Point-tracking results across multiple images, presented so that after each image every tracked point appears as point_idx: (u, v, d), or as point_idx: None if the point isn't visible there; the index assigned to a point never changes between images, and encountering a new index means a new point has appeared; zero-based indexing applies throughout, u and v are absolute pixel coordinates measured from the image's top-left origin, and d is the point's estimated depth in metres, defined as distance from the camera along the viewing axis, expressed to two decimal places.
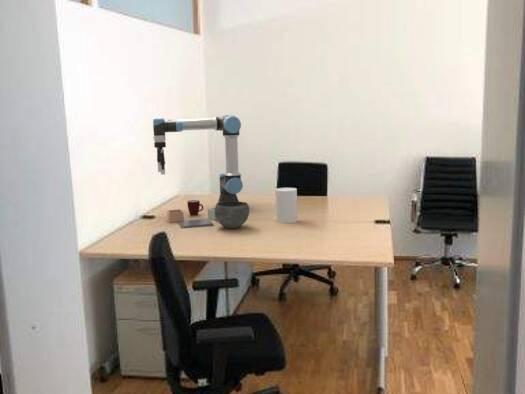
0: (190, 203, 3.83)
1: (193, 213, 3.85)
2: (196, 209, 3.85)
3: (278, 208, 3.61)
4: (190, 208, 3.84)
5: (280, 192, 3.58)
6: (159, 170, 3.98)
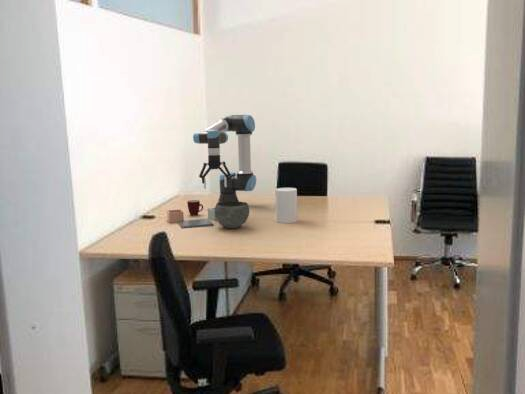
0: (190, 203, 3.83)
1: (193, 213, 3.85)
2: (196, 209, 3.85)
3: (278, 208, 3.61)
4: (190, 208, 3.84)
5: (280, 192, 3.58)
6: (224, 185, 3.74)
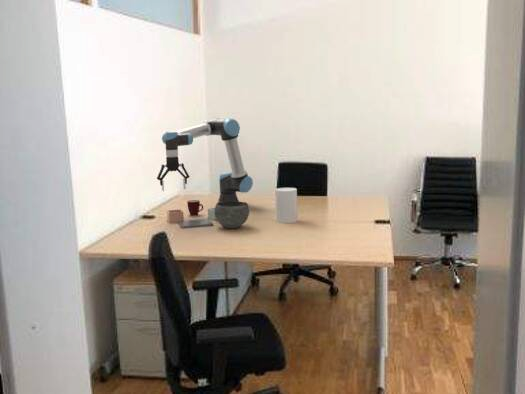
0: (190, 203, 3.83)
1: (193, 213, 3.85)
2: (196, 209, 3.85)
3: (278, 208, 3.61)
4: (190, 208, 3.84)
5: (280, 192, 3.58)
6: None
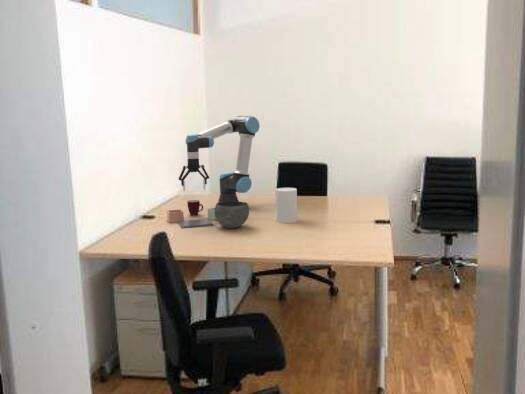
0: (190, 203, 3.83)
1: (193, 213, 3.85)
2: (196, 209, 3.85)
3: (278, 208, 3.61)
4: (190, 208, 3.84)
5: (280, 192, 3.58)
6: (203, 187, 3.88)
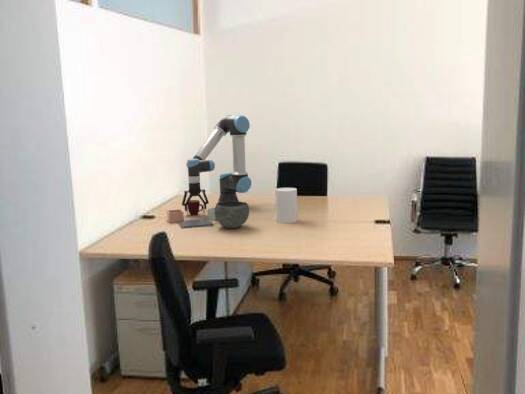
0: (190, 203, 3.83)
1: (193, 213, 3.85)
2: (196, 209, 3.85)
3: (278, 208, 3.61)
4: (190, 208, 3.84)
5: (280, 192, 3.58)
6: (203, 212, 3.91)
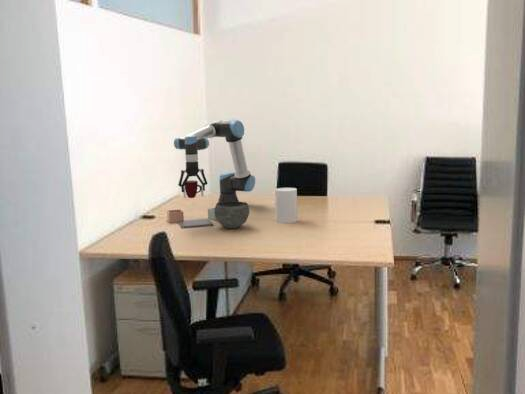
0: (187, 183, 3.54)
1: (190, 194, 3.56)
2: (194, 190, 3.55)
3: (278, 208, 3.61)
4: (187, 189, 3.55)
5: (280, 192, 3.58)
6: (201, 194, 3.62)
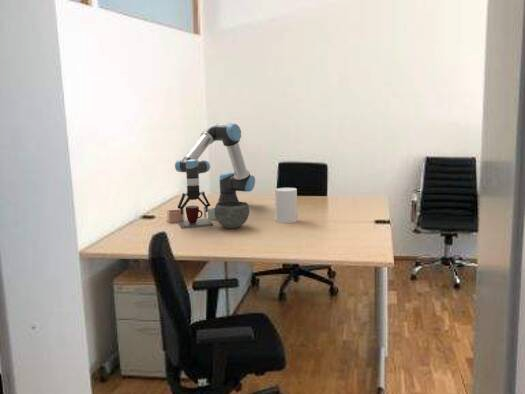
0: (188, 209, 3.57)
1: (192, 220, 3.59)
2: (195, 216, 3.58)
3: (278, 208, 3.61)
4: (188, 214, 3.58)
5: (280, 192, 3.58)
6: (204, 215, 3.64)
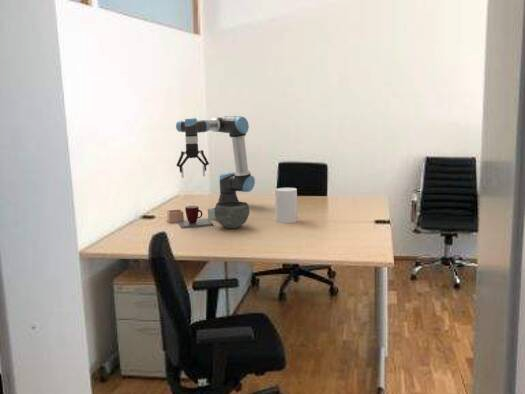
0: (188, 209, 3.57)
1: (191, 220, 3.59)
2: (195, 216, 3.58)
3: (278, 208, 3.61)
4: (188, 215, 3.58)
5: (280, 192, 3.58)
6: (203, 174, 3.68)
